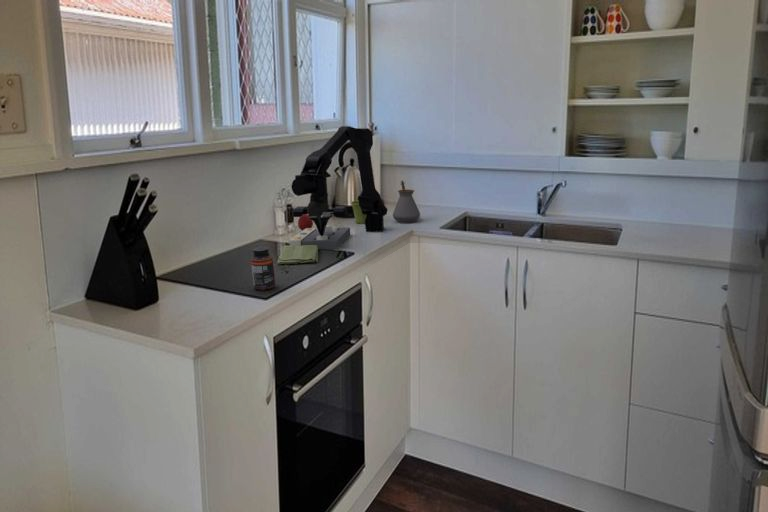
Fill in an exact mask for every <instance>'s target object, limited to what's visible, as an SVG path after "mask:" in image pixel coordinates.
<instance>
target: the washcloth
mask: <svg viewBox="0 0 768 512" xmlns="http://www.w3.org/2000/svg"><path fill="white" fill-rule="evenodd" d="M316 262H317V263H318V262H319V250H318V247H317V245H303V246H295V245H290V244H289V245H288V244H287V245H283V246H282V249H281V252H280V255H279V256H278V257H277V265H280V266H282V265H281V264H285V265H297V264H298V263H300V264H312V263H313V264H315V263H316ZM298 265H299V264H298Z"/></svg>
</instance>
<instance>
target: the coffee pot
mask: <svg viewBox="0 0 768 512" xmlns="http://www.w3.org/2000/svg"><path fill="white" fill-rule="evenodd" d="M400 185H401V189H399V190H398V191H397V192H398V195H399V197H398V200H397V201H396V205H395V208H394V209H393V212H392V217H393V219H394V220H395V221H396V222H397V221H398V223H399V222H400V223H401V224H410V222H412V223H415V222H417V220H419V218H420V217H421V213H420V211H419V208H418V206H417V203H416V201H415V199H414V196H413V194H414V192H415V190H414V189H406V187H405V181H404V180H401V181H400Z"/></svg>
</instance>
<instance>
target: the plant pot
mask: <svg viewBox="0 0 768 512" xmlns="http://www.w3.org/2000/svg"><path fill="white" fill-rule="evenodd" d="M350 204H351V208H352V210H353V214H354V215H353V216H354V220H355V221H354V222H355V223H356V224H360V225H362V224H364V225H365V219H366V215H363V214H362V210H361V208H360V206H359V200H358V199H357V200H353V201H350Z"/></svg>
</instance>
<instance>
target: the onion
mask: <svg viewBox="0 0 768 512" xmlns="http://www.w3.org/2000/svg"><path fill="white" fill-rule="evenodd" d="M297 226H298V228H299V230H300V231H301V232H302V231H303V230H304V229H306V228H313V226H314V221H313V220H312V219H309V216H308V214H303V215H302V216H301V217H298V220H297Z"/></svg>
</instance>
